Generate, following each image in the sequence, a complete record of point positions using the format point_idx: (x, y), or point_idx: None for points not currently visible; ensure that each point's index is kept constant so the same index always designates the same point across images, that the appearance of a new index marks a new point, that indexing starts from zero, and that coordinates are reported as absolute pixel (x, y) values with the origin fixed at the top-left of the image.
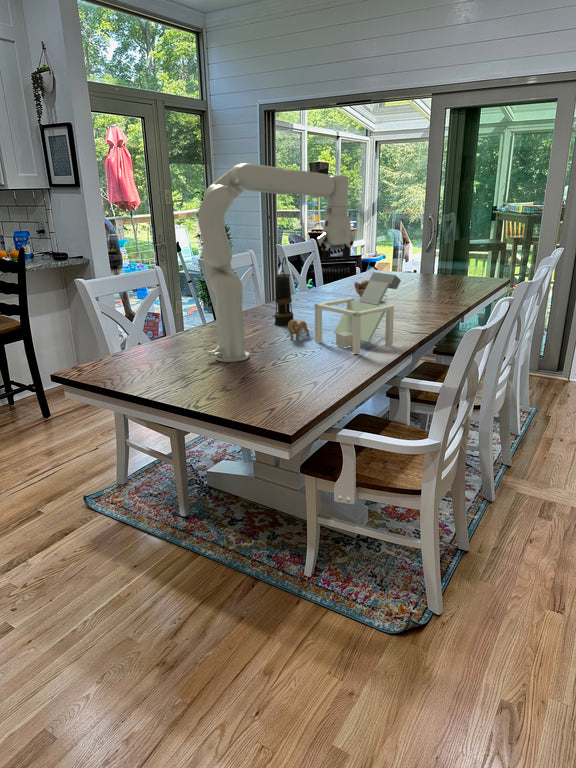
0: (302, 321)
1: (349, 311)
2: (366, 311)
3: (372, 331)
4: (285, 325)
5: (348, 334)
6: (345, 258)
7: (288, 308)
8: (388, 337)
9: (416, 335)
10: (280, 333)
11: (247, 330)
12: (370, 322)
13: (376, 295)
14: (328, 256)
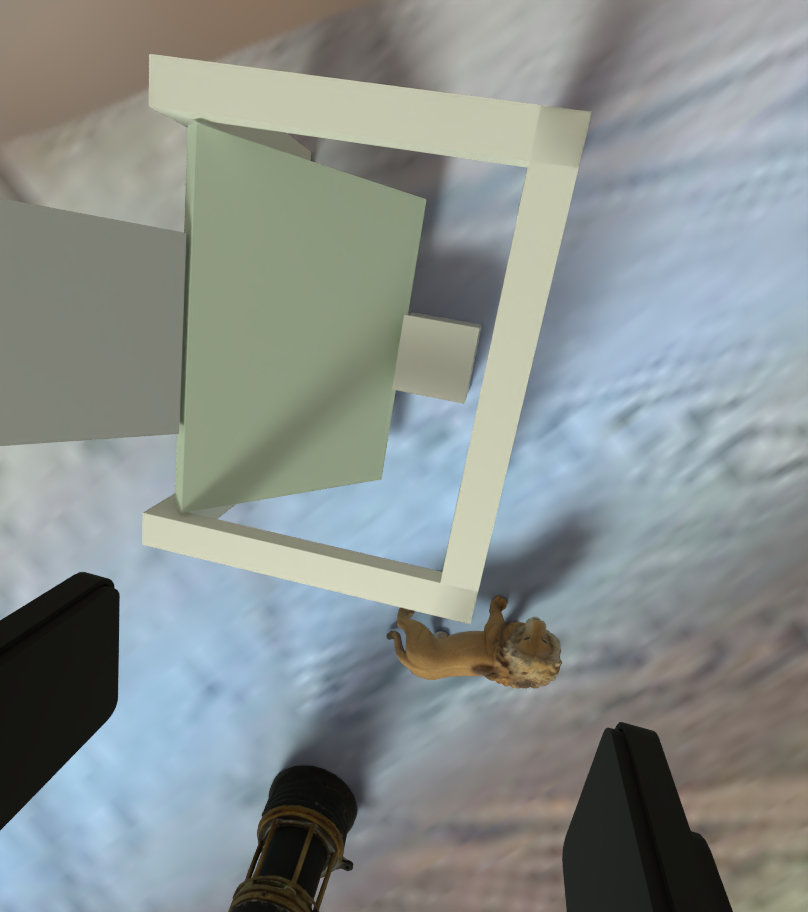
0: (428, 665)
1: (552, 227)
2: (469, 97)
3: (374, 185)
4: (338, 780)
5: (436, 334)
6: (109, 650)
7: (283, 851)
8: (292, 143)
9: (50, 178)
10: (451, 728)
11: (500, 862)
12: (322, 232)
13: (101, 280)
14: (676, 823)
